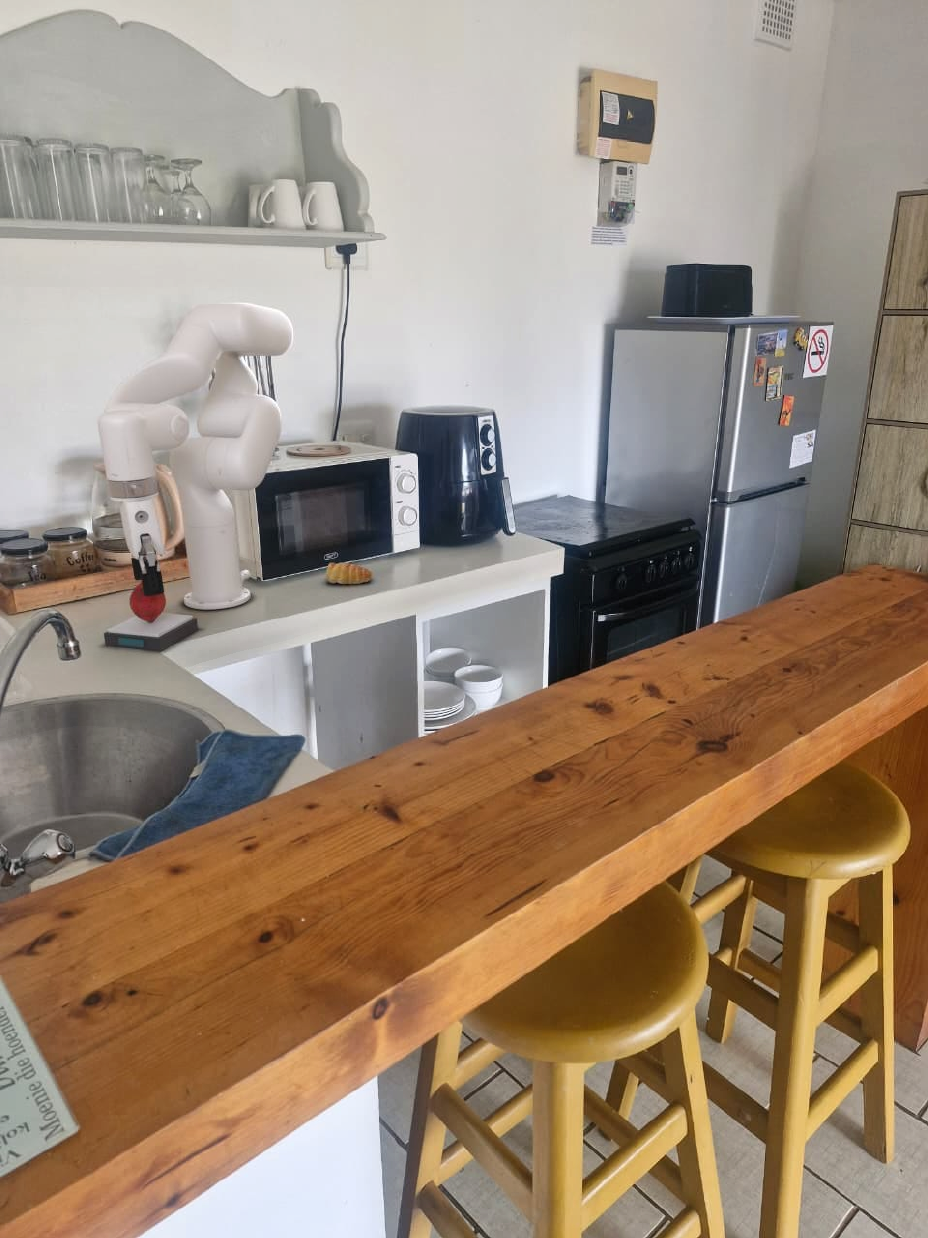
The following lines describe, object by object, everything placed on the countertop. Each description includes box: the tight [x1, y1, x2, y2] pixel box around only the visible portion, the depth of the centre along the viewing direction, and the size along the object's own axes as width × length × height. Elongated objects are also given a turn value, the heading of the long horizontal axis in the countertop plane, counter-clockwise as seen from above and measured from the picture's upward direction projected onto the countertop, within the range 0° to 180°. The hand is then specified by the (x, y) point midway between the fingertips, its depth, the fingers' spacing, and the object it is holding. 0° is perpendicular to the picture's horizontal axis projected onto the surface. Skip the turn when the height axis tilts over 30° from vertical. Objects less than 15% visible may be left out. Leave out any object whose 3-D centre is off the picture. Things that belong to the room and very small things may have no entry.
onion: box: [129, 580, 167, 622], centre depth 148 cm, size 6×6×8 cm
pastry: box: [324, 562, 373, 585], centre depth 181 cm, size 9×7×4 cm
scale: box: [103, 612, 199, 652], centre depth 150 cm, size 11×11×3 cm
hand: (149, 586), depth 149 cm, fingers open, 9 cm apart
